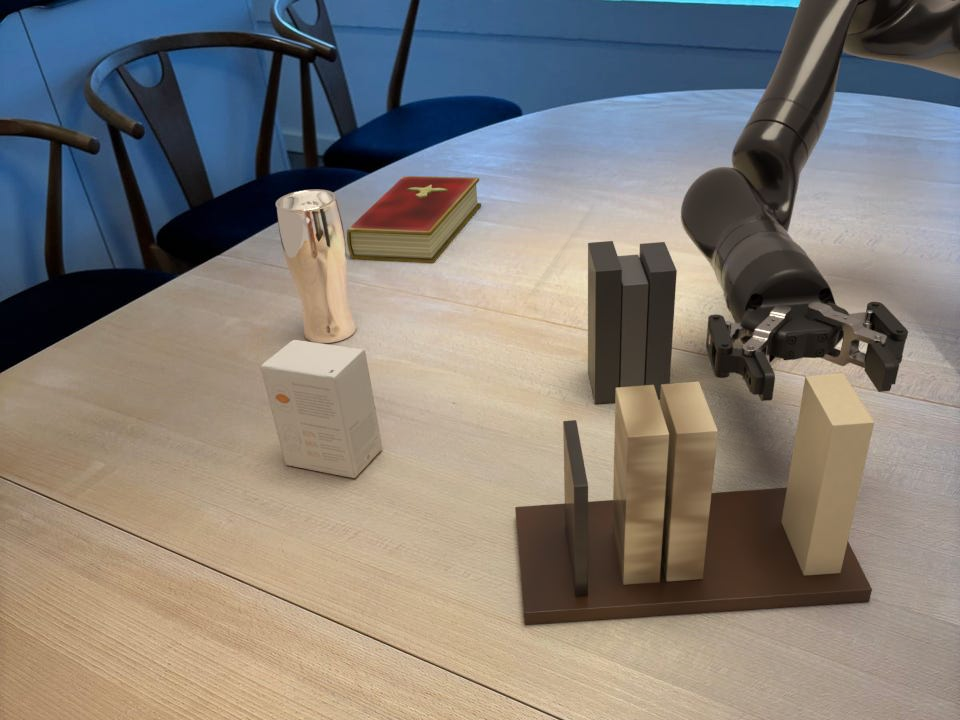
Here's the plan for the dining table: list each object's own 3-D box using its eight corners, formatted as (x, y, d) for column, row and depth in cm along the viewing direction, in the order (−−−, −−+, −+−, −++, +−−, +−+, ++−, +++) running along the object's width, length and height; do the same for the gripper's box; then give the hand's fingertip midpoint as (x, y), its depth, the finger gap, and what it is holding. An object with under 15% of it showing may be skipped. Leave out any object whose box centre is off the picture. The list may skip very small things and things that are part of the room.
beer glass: (371, 325, 115) (351, 193, 105) (333, 350, 111) (308, 214, 101) (327, 314, 119) (303, 185, 108) (288, 338, 114) (259, 205, 104)
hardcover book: (349, 258, 131) (344, 226, 128) (404, 203, 146) (401, 173, 143) (433, 262, 128) (430, 230, 125) (481, 206, 143) (479, 175, 140)
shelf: (818, 496, 84) (848, 340, 74) (869, 601, 73) (911, 436, 64) (515, 518, 85) (506, 366, 75) (524, 625, 74) (515, 465, 65)
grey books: (658, 366, 103) (665, 236, 94) (668, 398, 98) (677, 264, 89) (587, 371, 103) (587, 242, 94) (594, 404, 98) (595, 271, 89)
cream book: (815, 519, 79) (844, 372, 71) (840, 573, 74) (874, 422, 65) (781, 522, 80) (805, 375, 71) (803, 576, 74) (832, 425, 66)
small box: (384, 450, 95) (367, 348, 87) (355, 480, 91) (335, 377, 84) (314, 436, 97) (292, 337, 90) (283, 466, 94) (258, 364, 87)
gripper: (692, 255, 80) (734, 344, 68) (867, 240, 80) (941, 327, 68) (686, 341, 85) (724, 438, 73) (850, 328, 85) (916, 423, 73)
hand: (828, 384), depth 71 cm, fingers open, 8 cm apart
